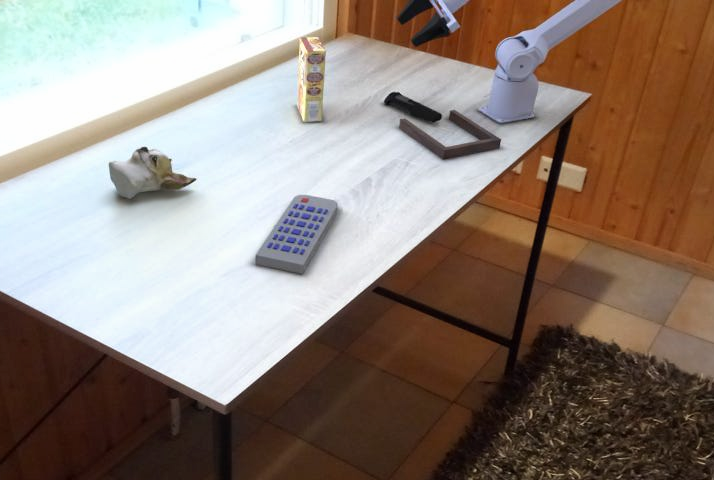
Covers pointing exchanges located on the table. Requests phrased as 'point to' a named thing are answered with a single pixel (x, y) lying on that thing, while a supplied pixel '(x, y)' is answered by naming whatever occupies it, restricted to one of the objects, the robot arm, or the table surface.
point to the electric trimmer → (412, 107)
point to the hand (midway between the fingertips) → (405, 32)
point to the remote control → (297, 234)
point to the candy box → (311, 79)
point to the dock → (485, 144)
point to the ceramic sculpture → (145, 173)
